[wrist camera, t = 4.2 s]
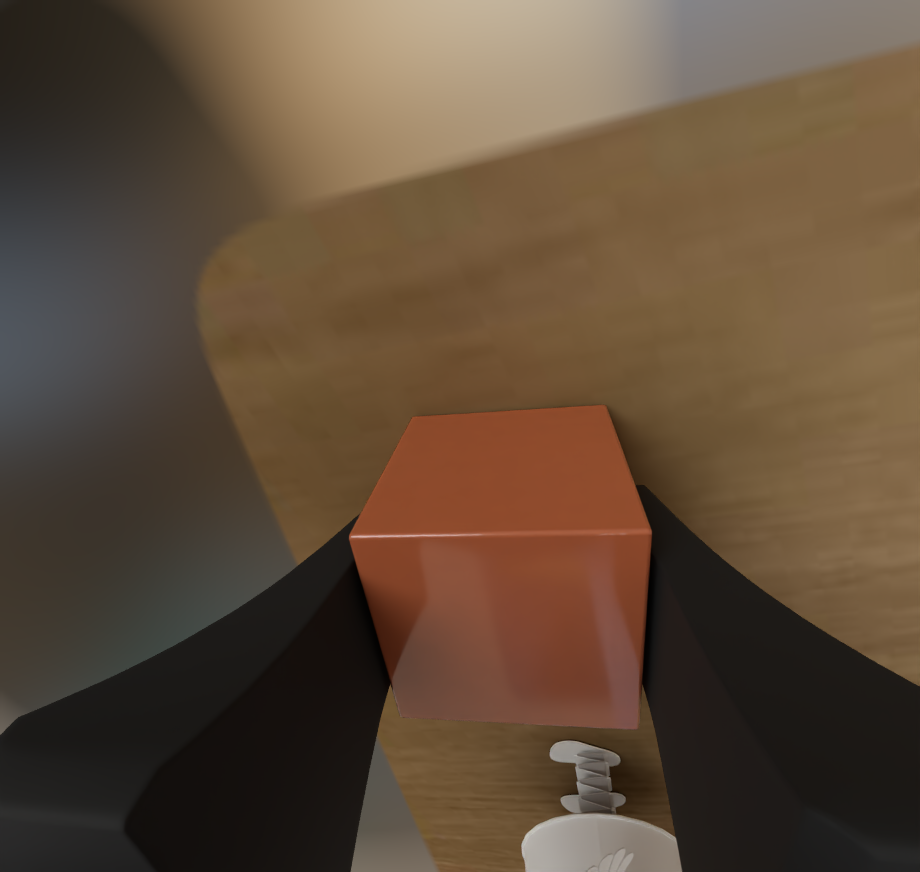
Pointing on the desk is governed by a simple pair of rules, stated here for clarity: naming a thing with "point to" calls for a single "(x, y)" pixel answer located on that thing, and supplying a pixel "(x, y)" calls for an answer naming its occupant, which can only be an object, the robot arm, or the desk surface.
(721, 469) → the desk surface
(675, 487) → the desk surface
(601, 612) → the block
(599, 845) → the toy figure
